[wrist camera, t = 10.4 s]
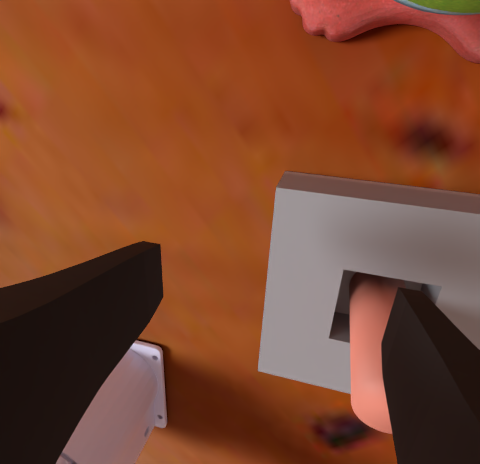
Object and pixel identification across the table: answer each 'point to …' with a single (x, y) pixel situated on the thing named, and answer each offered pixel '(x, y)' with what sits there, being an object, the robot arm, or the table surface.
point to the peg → (370, 345)
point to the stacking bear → (395, 19)
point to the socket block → (360, 265)
